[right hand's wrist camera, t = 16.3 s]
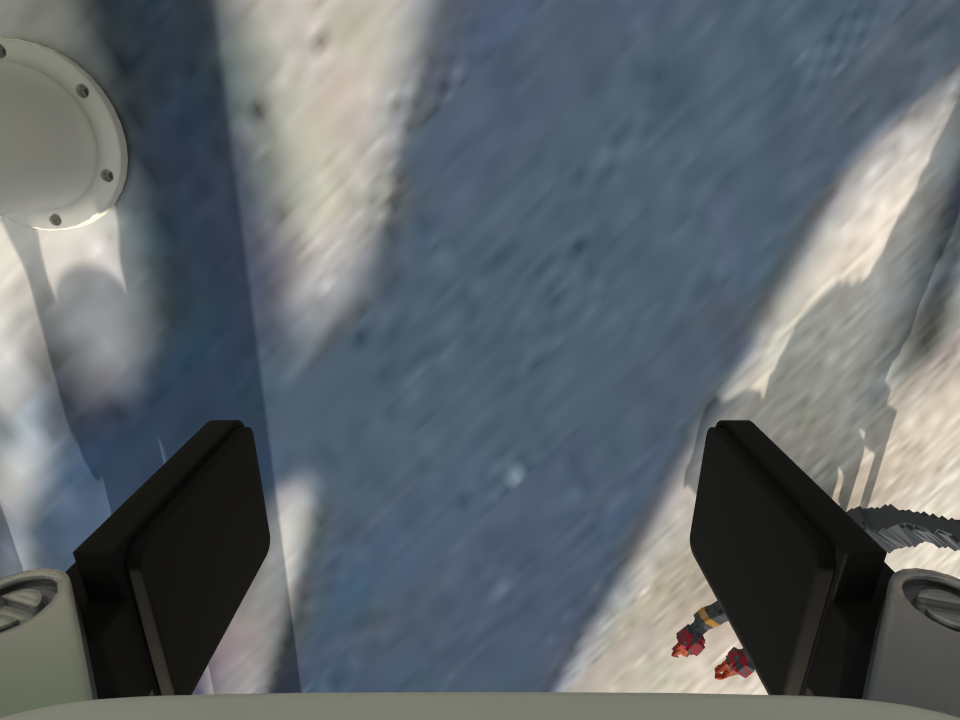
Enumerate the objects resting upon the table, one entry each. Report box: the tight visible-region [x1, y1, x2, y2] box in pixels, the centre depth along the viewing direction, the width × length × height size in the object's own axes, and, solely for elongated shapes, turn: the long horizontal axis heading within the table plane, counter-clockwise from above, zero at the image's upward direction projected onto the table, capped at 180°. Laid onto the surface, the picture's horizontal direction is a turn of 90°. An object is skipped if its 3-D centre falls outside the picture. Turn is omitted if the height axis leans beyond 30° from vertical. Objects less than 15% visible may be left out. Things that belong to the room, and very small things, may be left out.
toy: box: [672, 504, 960, 680], centre depth 43 cm, size 13×27×18 cm, turn 144°
